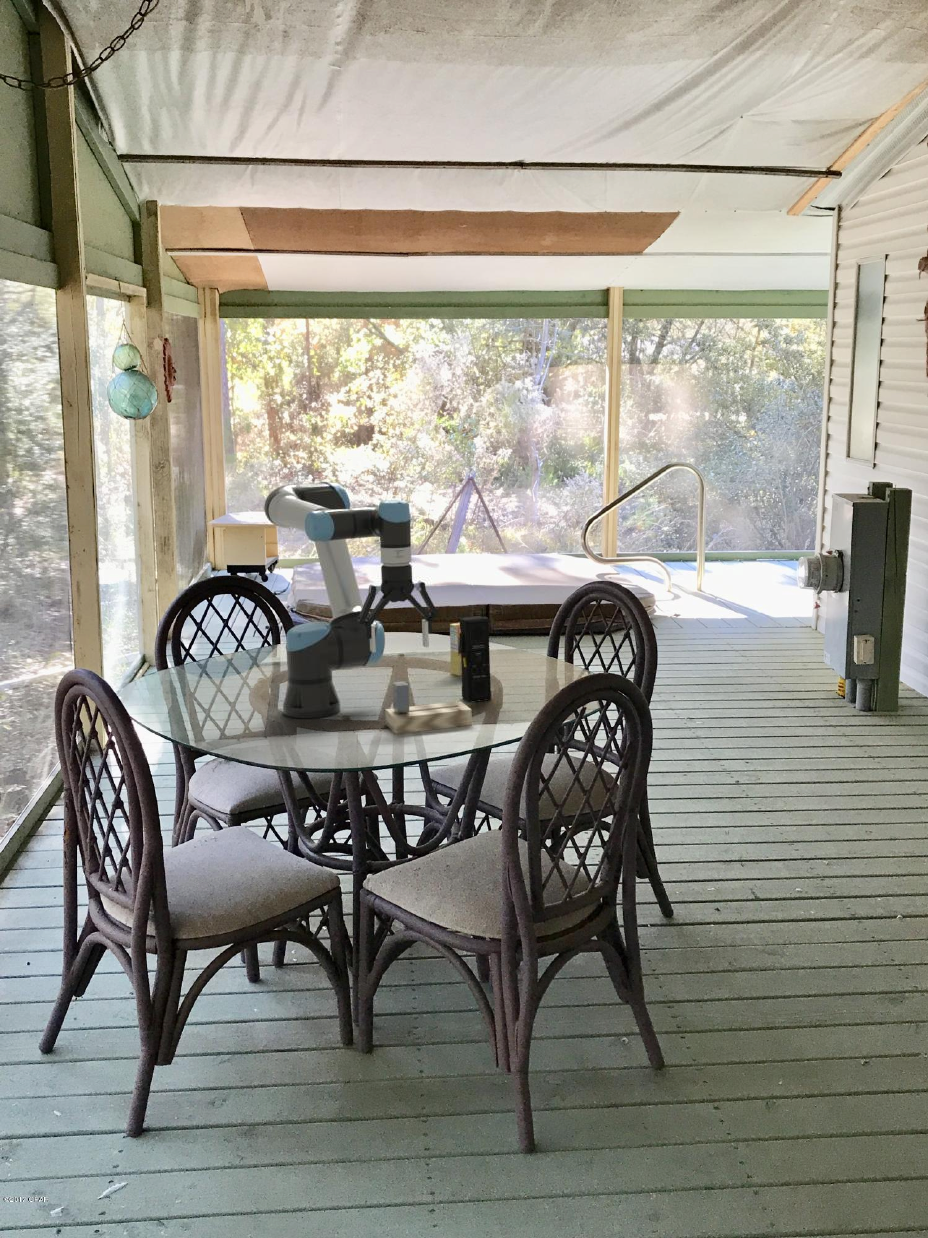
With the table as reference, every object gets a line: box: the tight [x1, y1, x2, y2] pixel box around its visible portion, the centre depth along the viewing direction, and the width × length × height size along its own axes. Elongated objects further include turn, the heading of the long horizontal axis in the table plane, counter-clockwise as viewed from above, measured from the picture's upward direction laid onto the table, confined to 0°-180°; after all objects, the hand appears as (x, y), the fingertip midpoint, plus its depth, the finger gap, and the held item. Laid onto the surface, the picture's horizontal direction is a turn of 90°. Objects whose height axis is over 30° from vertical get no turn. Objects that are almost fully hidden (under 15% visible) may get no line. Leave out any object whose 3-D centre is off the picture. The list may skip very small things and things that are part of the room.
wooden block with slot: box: [384, 700, 473, 735], centre depth 291 cm, size 20×9×4 cm, turn 109°
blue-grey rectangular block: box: [392, 680, 410, 713], centre depth 288 cm, size 3×4×7 cm
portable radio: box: [459, 607, 492, 703], centre depth 313 cm, size 8×6×25 cm
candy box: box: [449, 622, 462, 677], centre depth 345 cm, size 9×4×15 cm, turn 129°
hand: (399, 649), depth 286 cm, fingers open, 13 cm apart
